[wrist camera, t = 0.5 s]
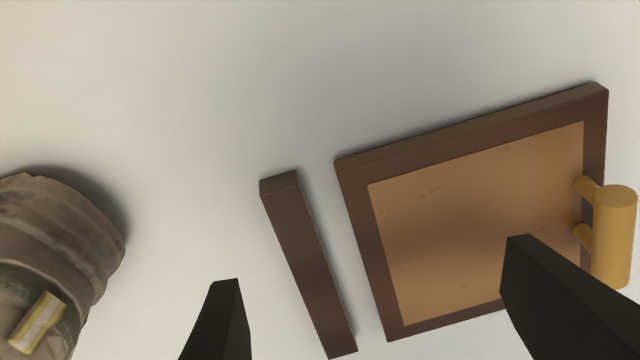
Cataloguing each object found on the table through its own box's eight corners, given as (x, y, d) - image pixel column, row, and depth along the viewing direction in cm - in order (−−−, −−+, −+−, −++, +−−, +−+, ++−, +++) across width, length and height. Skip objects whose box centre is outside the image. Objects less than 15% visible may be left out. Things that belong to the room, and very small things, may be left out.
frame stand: (354, 335, 29) (358, 351, 28) (325, 343, 29) (328, 360, 28) (296, 169, 23) (298, 183, 22) (258, 180, 23) (259, 195, 22)
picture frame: (588, 269, 29) (639, 330, 25) (383, 329, 29) (403, 397, 25) (595, 80, 22) (666, 123, 18) (332, 160, 23) (349, 218, 19)
